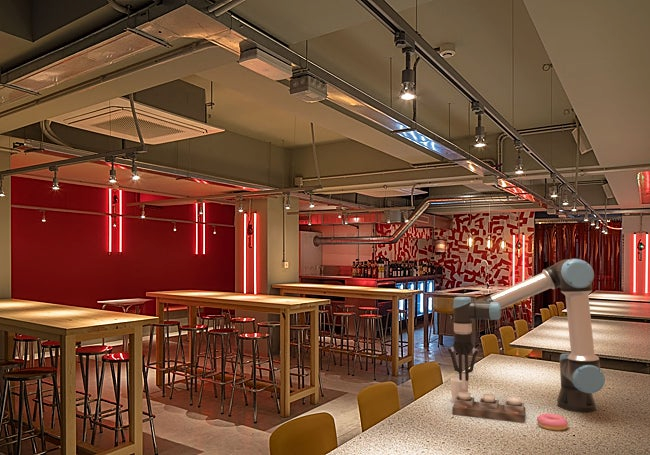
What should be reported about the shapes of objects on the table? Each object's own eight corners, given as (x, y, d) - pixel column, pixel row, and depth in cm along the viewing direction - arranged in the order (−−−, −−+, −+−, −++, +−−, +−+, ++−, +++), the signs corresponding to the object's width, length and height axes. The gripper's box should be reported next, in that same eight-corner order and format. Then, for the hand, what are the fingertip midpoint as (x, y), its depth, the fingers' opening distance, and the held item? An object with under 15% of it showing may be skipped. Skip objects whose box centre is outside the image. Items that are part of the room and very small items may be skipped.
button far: (471, 397, 210) (471, 392, 210) (469, 400, 205) (469, 395, 205) (459, 395, 212) (459, 391, 212) (457, 398, 207) (457, 394, 207)
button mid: (495, 399, 206) (495, 394, 206) (494, 402, 201) (494, 397, 201) (483, 398, 208) (483, 393, 208) (482, 401, 203) (481, 396, 203)
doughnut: (566, 434, 180) (566, 422, 180) (534, 428, 186) (534, 417, 186) (569, 425, 189) (569, 414, 190) (539, 420, 195) (538, 410, 195)
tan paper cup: (469, 404, 217) (469, 381, 217) (451, 403, 218) (450, 381, 219) (468, 399, 224) (467, 377, 225) (450, 398, 226) (449, 377, 226)
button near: (521, 402, 202) (520, 397, 202) (520, 405, 197) (520, 400, 197) (508, 400, 204) (508, 396, 204) (507, 404, 199) (507, 399, 199)
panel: (525, 414, 202) (525, 402, 203) (524, 423, 192) (524, 410, 192) (457, 406, 214) (456, 394, 214) (452, 414, 203) (452, 402, 203)
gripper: (479, 332, 211) (480, 387, 210) (449, 330, 216) (450, 384, 215) (477, 334, 204) (478, 391, 203) (446, 333, 210) (447, 388, 208)
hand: (464, 388), depth 209 cm, fingers closed
